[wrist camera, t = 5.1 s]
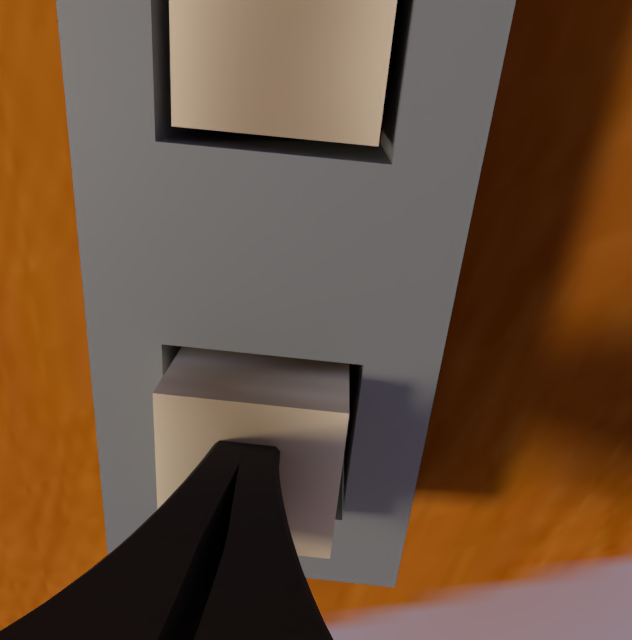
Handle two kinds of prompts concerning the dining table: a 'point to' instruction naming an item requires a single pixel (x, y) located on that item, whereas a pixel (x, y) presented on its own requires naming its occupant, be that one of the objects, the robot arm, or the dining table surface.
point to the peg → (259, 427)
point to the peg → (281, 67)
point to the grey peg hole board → (277, 249)
